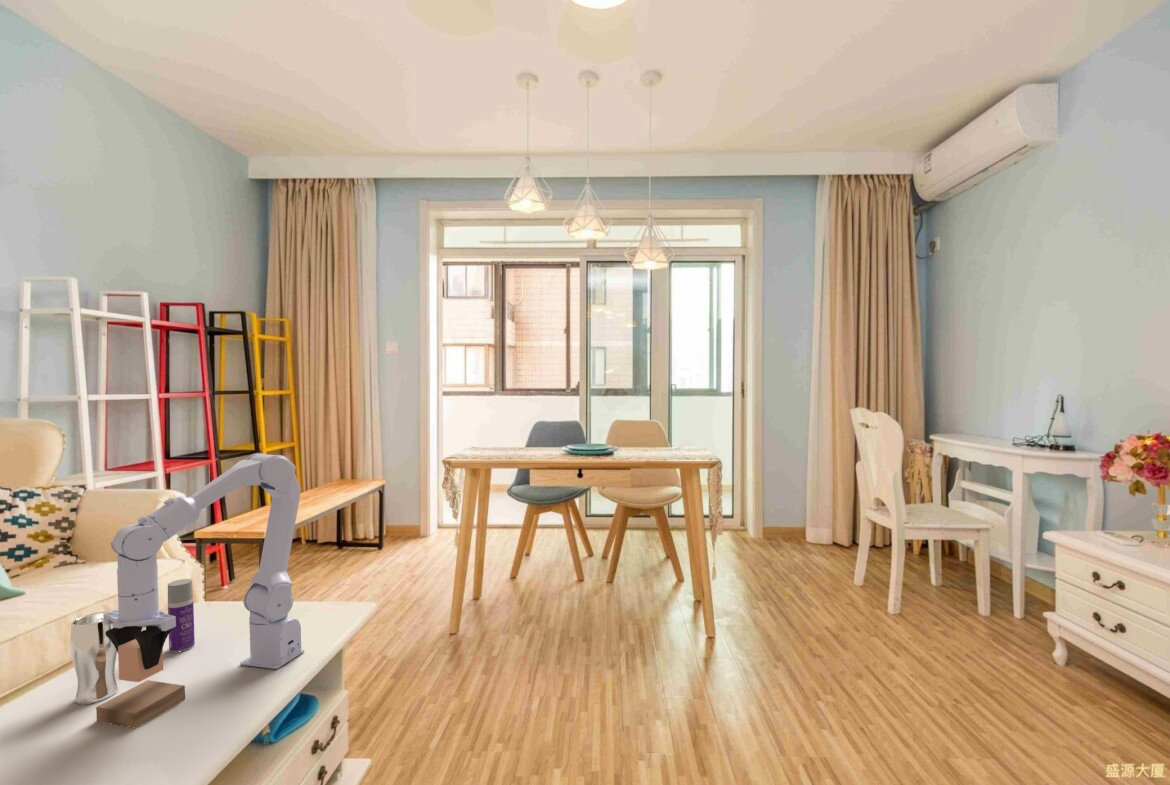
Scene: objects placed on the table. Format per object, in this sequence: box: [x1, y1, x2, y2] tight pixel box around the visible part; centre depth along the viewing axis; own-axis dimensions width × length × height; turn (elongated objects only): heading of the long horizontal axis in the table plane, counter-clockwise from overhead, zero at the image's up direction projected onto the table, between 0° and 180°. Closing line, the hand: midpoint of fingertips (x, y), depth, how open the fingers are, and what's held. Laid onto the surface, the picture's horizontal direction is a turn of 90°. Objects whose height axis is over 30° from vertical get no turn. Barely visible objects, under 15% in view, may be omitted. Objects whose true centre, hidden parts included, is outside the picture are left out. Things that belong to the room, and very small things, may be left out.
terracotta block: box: [117, 639, 164, 683], centre depth 101 cm, size 4×4×6 cm
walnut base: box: [95, 680, 186, 729], centre depth 101 cm, size 9×9×3 cm
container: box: [167, 578, 196, 653], centre depth 125 cm, size 5×5×15 cm
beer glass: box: [69, 610, 119, 706], centre depth 106 cm, size 7×7×15 cm
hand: (140, 665), depth 101 cm, fingers closed on terracotta block, 4 cm apart
